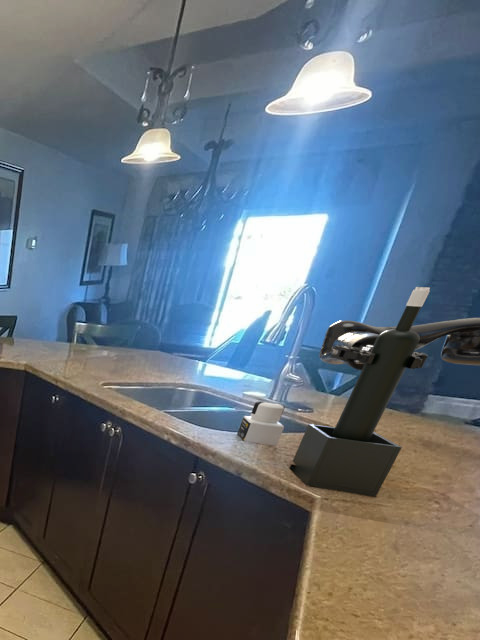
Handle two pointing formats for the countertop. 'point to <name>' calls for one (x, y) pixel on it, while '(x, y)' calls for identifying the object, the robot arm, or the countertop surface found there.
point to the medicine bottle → (262, 424)
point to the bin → (343, 461)
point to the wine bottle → (381, 374)
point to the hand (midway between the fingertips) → (392, 361)
